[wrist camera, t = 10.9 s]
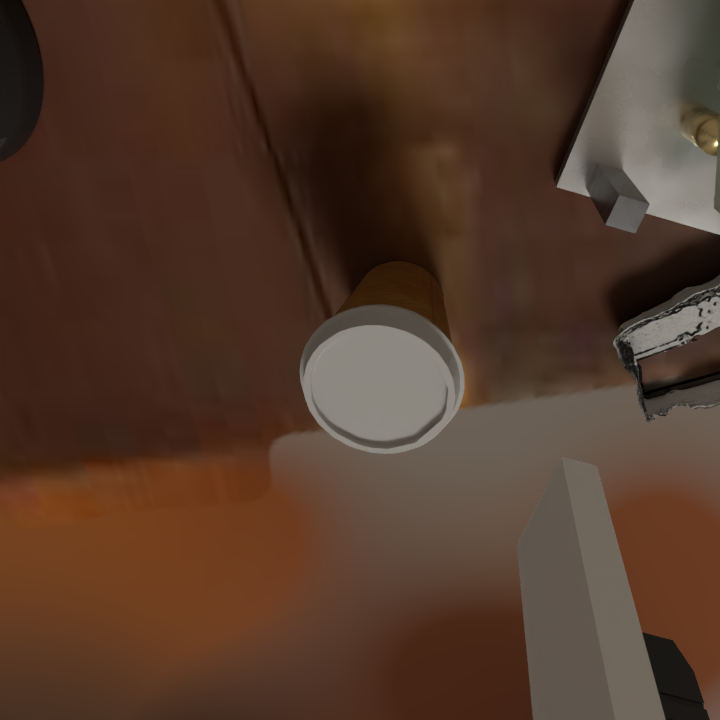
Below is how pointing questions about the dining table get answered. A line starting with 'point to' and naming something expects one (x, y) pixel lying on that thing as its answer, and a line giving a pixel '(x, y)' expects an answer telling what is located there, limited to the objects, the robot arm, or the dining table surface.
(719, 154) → the board
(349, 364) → the disposable coffee cup
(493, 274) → the dining table surface
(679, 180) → the chassis
